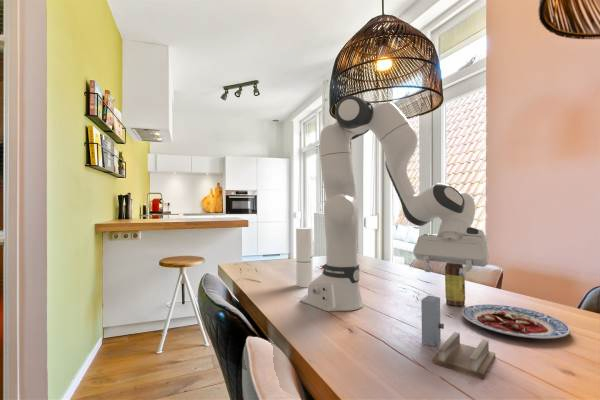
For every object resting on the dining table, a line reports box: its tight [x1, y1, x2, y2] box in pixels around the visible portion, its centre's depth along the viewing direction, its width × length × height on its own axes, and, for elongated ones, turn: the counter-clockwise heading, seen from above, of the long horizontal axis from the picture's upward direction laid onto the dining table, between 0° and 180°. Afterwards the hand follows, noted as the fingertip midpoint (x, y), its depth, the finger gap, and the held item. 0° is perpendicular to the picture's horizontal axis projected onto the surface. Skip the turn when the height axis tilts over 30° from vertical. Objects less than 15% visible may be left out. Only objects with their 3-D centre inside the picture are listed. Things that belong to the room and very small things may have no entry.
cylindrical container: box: [295, 227, 314, 288], centre depth 137 cm, size 7×7×25 cm
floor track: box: [432, 331, 496, 380], centre depth 71 cm, size 10×12×4 cm
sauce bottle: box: [444, 263, 466, 307], centre depth 111 cm, size 6×6×20 cm
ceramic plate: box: [461, 303, 571, 340], centre depth 91 cm, size 26×26×3 cm
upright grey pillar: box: [421, 294, 445, 347], centre depth 81 cm, size 4×5×11 cm
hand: (444, 273), depth 89 cm, fingers open, 8 cm apart
